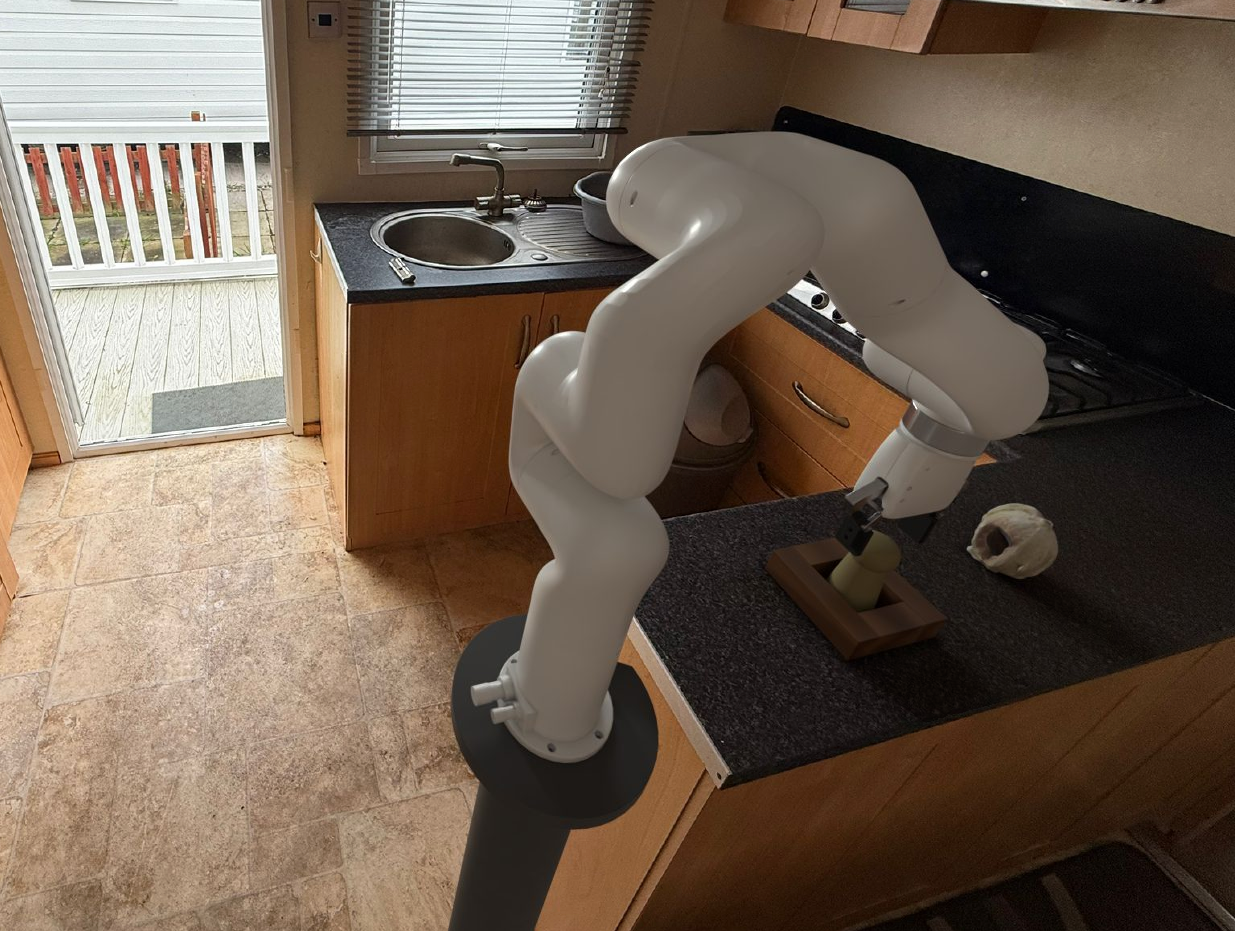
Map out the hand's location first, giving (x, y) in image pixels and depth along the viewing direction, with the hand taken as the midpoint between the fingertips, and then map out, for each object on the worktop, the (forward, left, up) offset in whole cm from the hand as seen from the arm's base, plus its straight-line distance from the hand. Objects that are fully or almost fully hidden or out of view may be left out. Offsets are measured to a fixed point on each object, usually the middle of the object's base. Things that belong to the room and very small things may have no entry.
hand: (878, 540), depth 79 cm
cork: (0, 0, -11) cm, 11 cm away
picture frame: (0, 0, -11) cm, 11 cm away
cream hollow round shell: (+27, 0, -11) cm, 30 cm away
